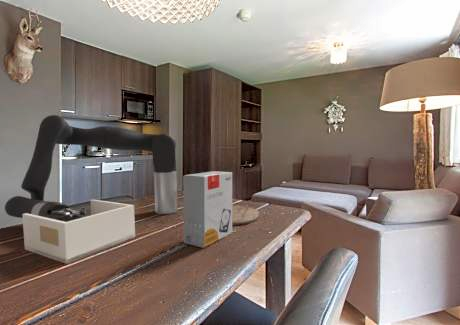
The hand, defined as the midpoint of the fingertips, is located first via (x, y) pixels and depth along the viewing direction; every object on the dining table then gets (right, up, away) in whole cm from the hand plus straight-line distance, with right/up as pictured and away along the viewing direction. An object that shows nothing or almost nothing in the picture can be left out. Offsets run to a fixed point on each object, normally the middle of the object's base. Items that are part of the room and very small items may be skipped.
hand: (83, 219), depth 77 cm
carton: (-1, -7, +1) cm, 7 cm away
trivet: (+42, -5, +27) cm, 50 cm away
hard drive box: (+37, -7, +4) cm, 37 cm away
